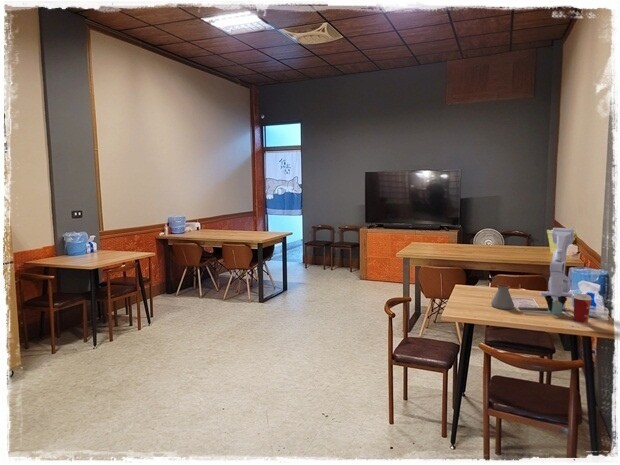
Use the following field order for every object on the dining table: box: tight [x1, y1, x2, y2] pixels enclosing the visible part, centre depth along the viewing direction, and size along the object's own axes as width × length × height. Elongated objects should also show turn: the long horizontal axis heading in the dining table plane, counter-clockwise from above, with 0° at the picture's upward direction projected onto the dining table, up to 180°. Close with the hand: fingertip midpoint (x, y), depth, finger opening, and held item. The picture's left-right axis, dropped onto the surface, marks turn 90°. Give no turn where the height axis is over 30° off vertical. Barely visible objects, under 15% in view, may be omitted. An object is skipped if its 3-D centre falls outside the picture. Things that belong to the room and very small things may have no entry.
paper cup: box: [572, 293, 593, 324], centre depth 208 cm, size 8×8×14 cm
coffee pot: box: [490, 276, 515, 310], centre depth 236 cm, size 21×12×15 cm, turn 178°
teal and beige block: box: [548, 298, 562, 315], centre depth 220 cm, size 7×4×7 cm, turn 172°
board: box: [517, 306, 574, 318], centre depth 220 cm, size 11×23×3 cm, turn 82°
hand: (554, 310), depth 220 cm, fingers closed on teal and beige block, 4 cm apart
